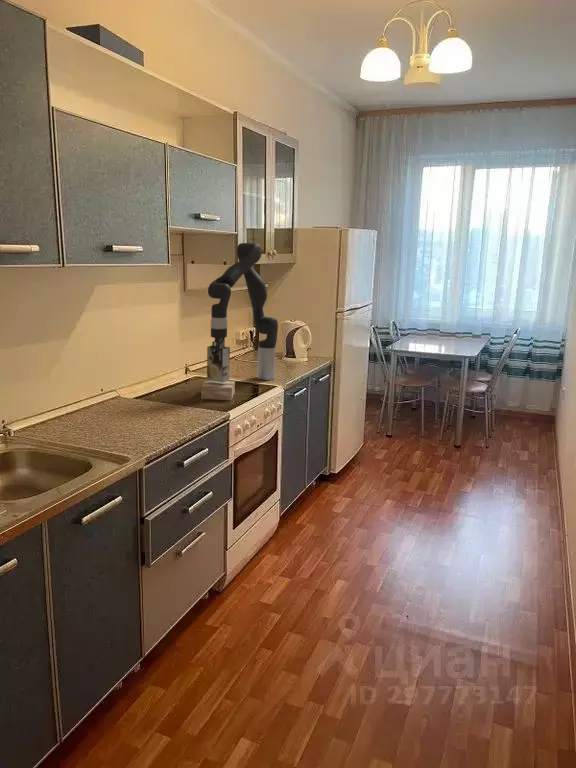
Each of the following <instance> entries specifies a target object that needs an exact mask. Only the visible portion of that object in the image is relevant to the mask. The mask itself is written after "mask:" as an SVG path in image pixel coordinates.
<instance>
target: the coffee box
mask: <svg viewBox="0 0 576 768" xmlns="http://www.w3.org/2000/svg"><path fill="white" fill-rule="evenodd" d="M230 348H231V347H230V346H222V347H221V348H218V349H219V363H218V364H217V363H214V355H212V345H210V346H207V347H206V356H207V357H206V368H207V369H206V380H210V381H216V382H222V383H223V382H226V381H230V359H231V358H230V354H231V353H230V351H231V349H230ZM215 352H216V351H215Z"/></svg>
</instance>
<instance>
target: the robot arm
mask: <svg viewBox="0 0 576 768" xmlns="http://www.w3.org/2000/svg"><path fill="white" fill-rule="evenodd" d="M236 248H237V249H236V256H237V259H238V261H237V262H235V263H234V264H232V265H231V266H229V267H228V268H227V269H226V270H225V271H224V272H223V274H222V275H220V276H219V277H217V278H216V279H215V280H213V281H212V282H210V284H209V285H208V288H207V294H208V296H209V297H210V298H212V299H218V300H219V302H218V303H213V304H212V305H211V319H210V337H211V338H213V339H214V341H212V342H211V343H212V345H211V346H212V355H214V363H217V364H218V363H219V349H218V348H221V347H222V346H225V344H226V343H225V342H226V338H227V337H228V318H227V317H228V307H229V302H230V298H231V295H232V289H231V288H232V287H233V286H235V285H236V283H237V282H238V281H239V280H240V278H241V277H242V276H244V280H245V283H246V288H247V292H248V296H249V300H250V302H251V307H252V311H253V317H254V325H255V329H256V331H257V332H258V334H262V335H266V338H265V339H262V340H259V341H258V347H257V373H256V374H257V377H256V378H257V379H259V380H264V381H270V380H274V379H275V369H276V368H275V367H276V366H275V365H276V345H277V341H278V331H279V322H278V320H277V318H276V317H270V316H266V315H265V314H264V305H265V303H266V301H267V298H268V292H267V288H266V283H265V281H264V280H263V278H262V277H261V276H260V275H259V273H257V271H256V270H255V269H254V267H253V266H255V264H257V263H258V262H259V261H260V259H261V258H262V253H263V252H262V251H263V250H262V247H261V245H260V244H258V243H255V242H241V243H239V244H238V245H237V247H236ZM225 347H226V346H225ZM215 351H216V352H215Z"/></svg>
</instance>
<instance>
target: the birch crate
mask: <svg viewBox="0 0 576 768" xmlns="http://www.w3.org/2000/svg"><path fill="white" fill-rule="evenodd" d="M235 388H236V382H235V380H229V381H226V382H223V383H222V382H216V381H210V380H207V379H205V381H204V382H203V384H202V385H201V388H200V389H201V390H200V392H201V394H200V395H201V396H200V397H201V400H222V401H232V400H233V397H234V396H233V395H235V392H236V389H235Z"/></svg>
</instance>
